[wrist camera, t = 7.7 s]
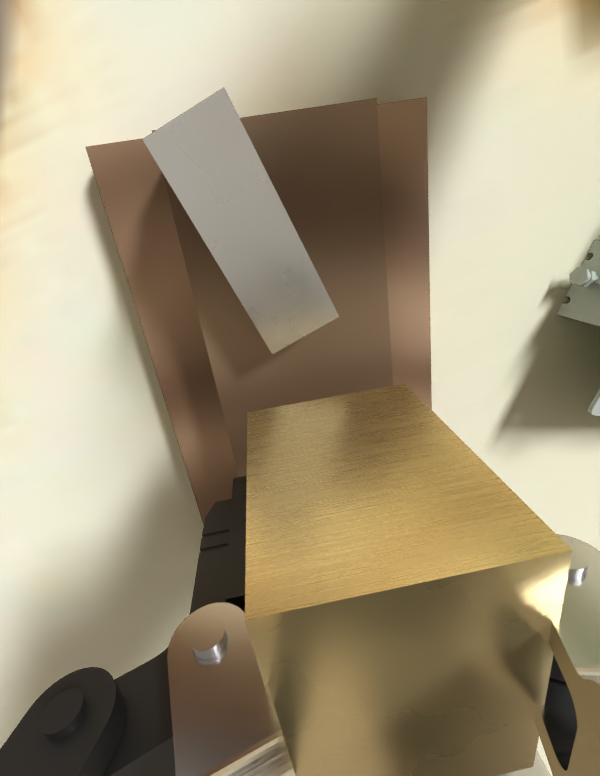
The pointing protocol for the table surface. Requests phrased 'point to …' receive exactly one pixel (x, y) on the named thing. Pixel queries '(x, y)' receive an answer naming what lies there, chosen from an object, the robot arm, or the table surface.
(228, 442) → the base
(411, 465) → the natural wood cube
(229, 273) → the grey bar
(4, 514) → the table surface
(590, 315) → the metal bracket
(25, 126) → the table surface
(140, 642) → the table surface
